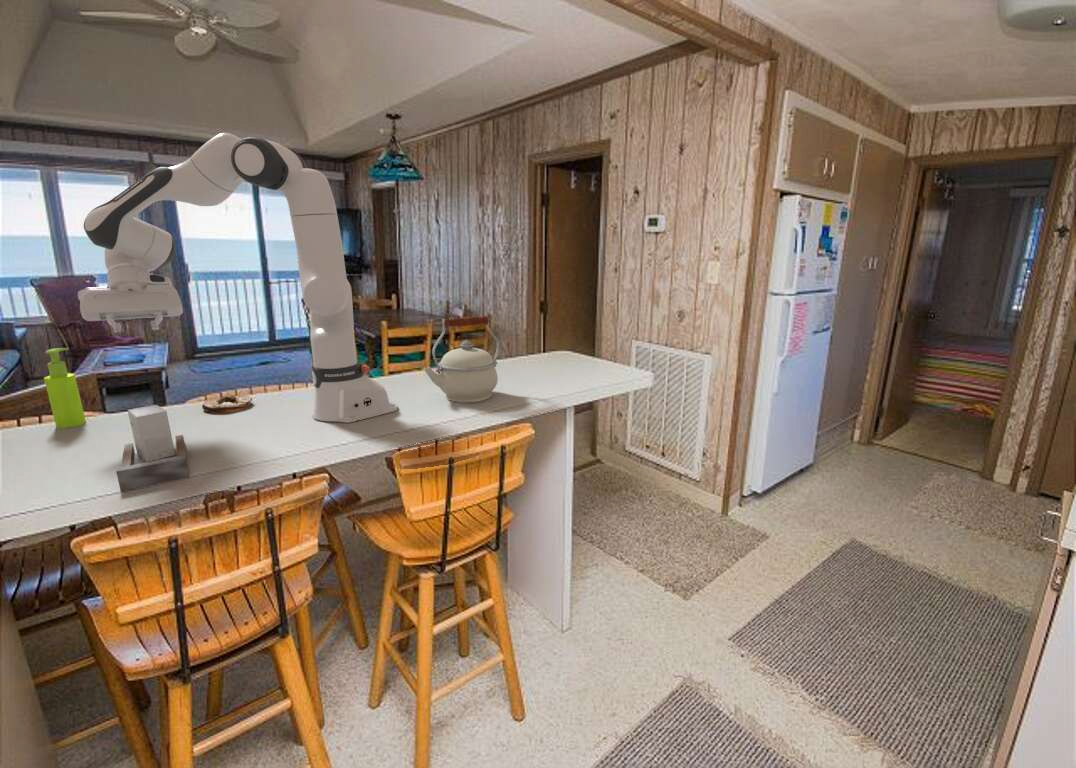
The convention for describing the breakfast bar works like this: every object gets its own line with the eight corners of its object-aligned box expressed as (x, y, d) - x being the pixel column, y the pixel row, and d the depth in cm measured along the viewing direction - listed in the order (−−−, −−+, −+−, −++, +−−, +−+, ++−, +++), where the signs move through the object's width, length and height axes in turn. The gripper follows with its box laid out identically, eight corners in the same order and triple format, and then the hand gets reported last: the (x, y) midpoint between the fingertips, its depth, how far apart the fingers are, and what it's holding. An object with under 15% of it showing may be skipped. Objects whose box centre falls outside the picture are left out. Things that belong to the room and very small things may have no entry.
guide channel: (184, 442, 123) (181, 426, 122) (189, 476, 105) (185, 458, 104) (126, 452, 117) (122, 436, 116) (120, 490, 99) (116, 471, 98)
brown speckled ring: (187, 411, 148) (185, 397, 147) (239, 398, 160) (237, 385, 159) (215, 420, 140) (213, 405, 139) (267, 406, 153) (266, 392, 152)
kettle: (486, 385, 175) (484, 311, 168) (513, 398, 160) (512, 318, 153) (415, 396, 162) (410, 316, 155) (437, 411, 147) (432, 324, 140)
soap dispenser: (93, 418, 140) (76, 346, 135) (76, 427, 133) (57, 351, 128) (69, 420, 139) (51, 346, 134) (50, 428, 132) (30, 352, 127)
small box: (175, 455, 116) (167, 411, 113) (145, 463, 112) (135, 417, 109) (165, 446, 121) (157, 403, 118) (136, 453, 117) (127, 409, 114)
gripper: (73, 279, 124) (78, 325, 119) (176, 277, 135) (184, 318, 130) (80, 296, 128) (84, 341, 123) (179, 293, 140) (186, 333, 135)
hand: (136, 329), depth 127 cm, fingers open, 6 cm apart
